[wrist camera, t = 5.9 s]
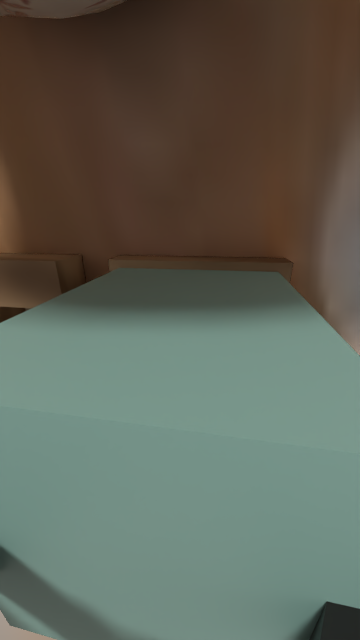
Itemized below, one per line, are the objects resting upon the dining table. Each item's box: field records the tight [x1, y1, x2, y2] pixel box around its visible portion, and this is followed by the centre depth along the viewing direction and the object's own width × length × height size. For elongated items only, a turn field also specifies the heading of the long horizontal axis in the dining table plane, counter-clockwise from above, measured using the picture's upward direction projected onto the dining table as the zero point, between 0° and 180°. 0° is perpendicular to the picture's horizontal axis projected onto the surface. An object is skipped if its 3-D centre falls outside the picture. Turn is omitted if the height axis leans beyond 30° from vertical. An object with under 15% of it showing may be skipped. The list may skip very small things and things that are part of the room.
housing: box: [0, 268, 360, 640], centre depth 11 cm, size 10×10×12 cm
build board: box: [0, 253, 86, 323], centre depth 19 cm, size 11×13×3 cm
